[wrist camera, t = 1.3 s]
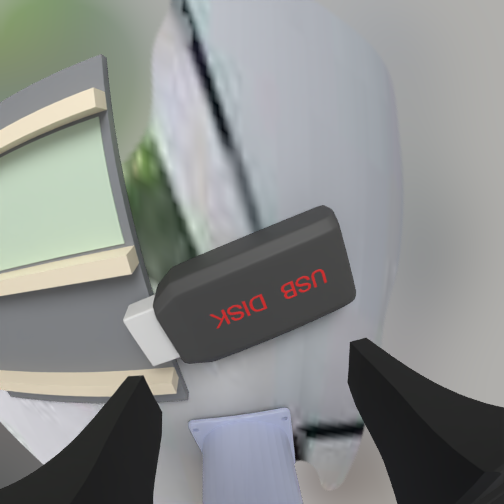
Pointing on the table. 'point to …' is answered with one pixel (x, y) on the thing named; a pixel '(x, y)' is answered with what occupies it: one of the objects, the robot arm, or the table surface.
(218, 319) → the usb drive
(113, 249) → the gray striped board
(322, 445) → the table surface
